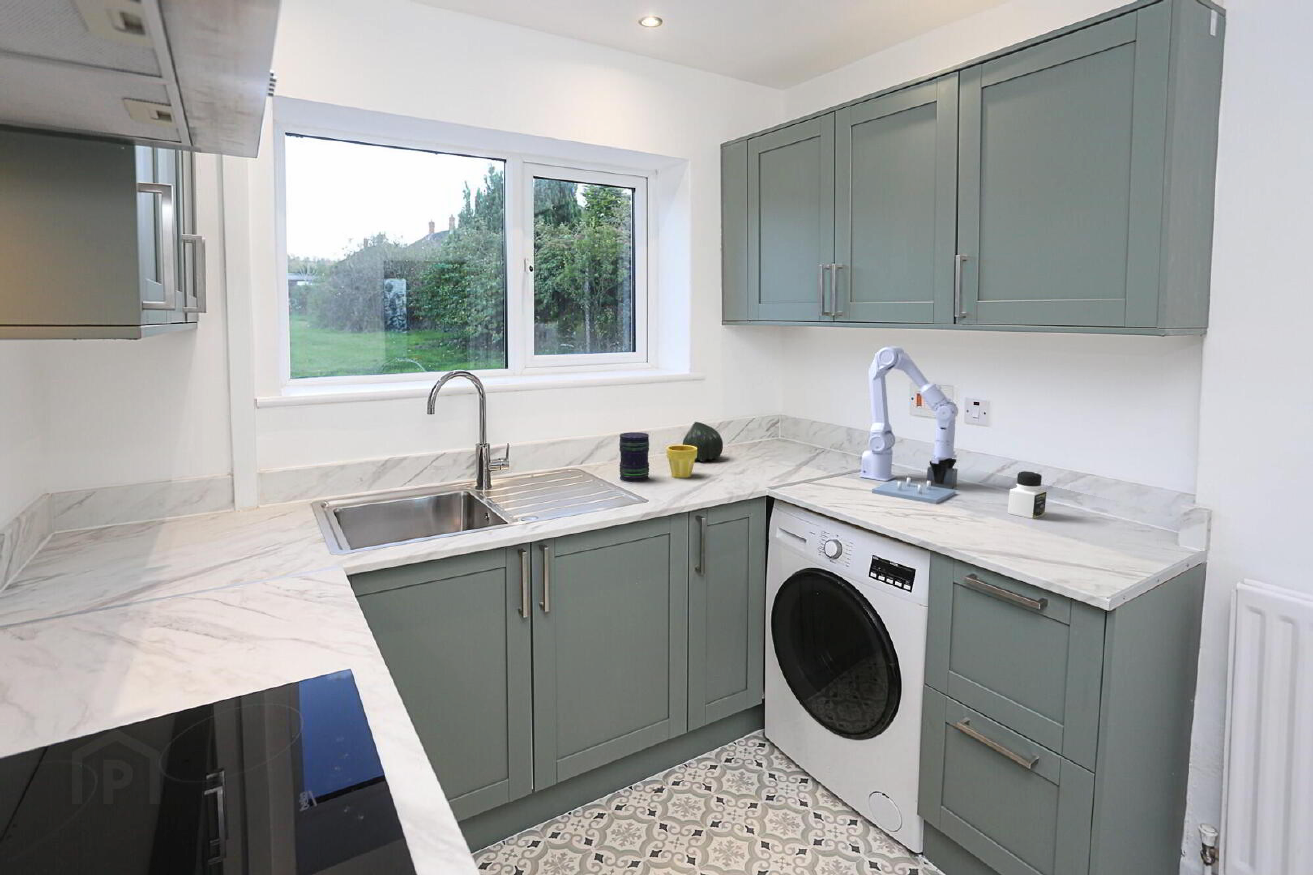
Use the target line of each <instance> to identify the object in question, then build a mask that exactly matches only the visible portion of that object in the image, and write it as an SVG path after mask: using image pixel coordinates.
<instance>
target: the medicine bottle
mask: <svg viewBox="0 0 1313 875" xmlns="http://www.w3.org/2000/svg"><path fill="white" fill-rule="evenodd" d="M1042 479H1043V478H1042V474H1040V473H1039V472H1036V471H1029V470H1024V471H1020V472H1018V473H1017V477H1016V487H1014V488H1011V489H1009V495H1008V506H1007V507H1008V508H1007V514H1008V515H1013V516H1018V517H1023V518H1026V519H1032V520H1033V519H1037V518H1040V517H1042V516H1044V515H1045V513H1046V503H1047V502H1046V500H1047V489H1041V488H1042Z"/></svg>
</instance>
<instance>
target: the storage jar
mask: <svg viewBox="0 0 1313 875" xmlns="http://www.w3.org/2000/svg"><path fill="white" fill-rule="evenodd" d="M649 437H650V435H649V433H646V432H622V433H620V434H619V452H620V462H619V476H620V477H619V480H620V481H622V482H625V483H627V482H628V483H643V482H647V481H648V480H649V478H650V477H649V472H650V462H649V451H650V442H649V441H650V438H649Z"/></svg>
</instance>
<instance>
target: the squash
mask: <svg viewBox="0 0 1313 875" xmlns="http://www.w3.org/2000/svg"><path fill="white" fill-rule="evenodd" d="M682 445H689V446H694V447H696V448H697V458H696V459H695V461H694V462H699V461H700V462H707V460H708V461H709V460H714V461H715V460H716V459H718V458H719V457H720V456H721V455H722V453H723V449H724V443H723V438H722V436H721V434H720V433H719V432H718V431H717V430H716V429H715V428H713V427H712V426H709V425H707V424H705V423H703V422H699V421H694V422H693V424H692V425H691V427H690V429H689V430H688V431H687V433H686V434H685V436H684V438H683V440H682Z"/></svg>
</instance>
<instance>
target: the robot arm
mask: <svg viewBox="0 0 1313 875" xmlns="http://www.w3.org/2000/svg"><path fill="white" fill-rule="evenodd" d="M892 369H895V370H898V371H901V372H904V373H905V374H906V375H907V376H908V377H909V379H910V380H911V381H912V382H913V383H914V384H915V385H916V386H917V387H918V388H919V389H920V394H919V395H920V397H921V398H922V399H923V400H924V401H925V403H926V404H927V405H928V406H929V407H930V409H931V410H932V411H934V416H935V419H936V426H935V436H934V450H933V456H931V460H929V467H930V466H931V468H932V470H933V474H934V480H935V483H938V484H942V483H943V480H944V475H945V471H946V469H947V467H948V468H954V466H955V464H956V463H957V457H958V455H957V454H956V452H955V451H954V450H955V449H954V447H955V435H956V418H957V416H958V414H959V408H958V406H957V404H956V403H955V402H953V401H952V400H951V399H950V397H947V396H946V395H945V394H944V392H943V391H942V387H941V386H940V385H937V384H936V383H930V382H929V381H928V380H927V378H926V377H925V375H924V374H923V373H922V372H921V370H920V369H919V367H917V365H916V363H915V362H914V361H913V360H912V358H911V356H910V355H909V354H908V353H907V352H905V350H904V349H903V348H902V347H900V346H898V345H894V346H893V345H892V346H890V347H889V346H887V347H886V346H885V347H882V348H881V349H879V351H877V352H876V353H875V354H874V358H873V361H872V363H871V364H870V367H869V368H868V382H869V383H868V384H869V394H870V407H871V408H870V409H871V418H872V420H871V422H872V426H871V428H870V432H869V433H870V434H869V436H870V437H869V438H868V442H867V443H868V447H869V449H867V450H864V452H863V453H862V456H861V467H860V470H861V471H860V475H859V477H860V478H863V479H864V478H865V479H869V480H870V479H871V480H877V481H881V482H887V481H890V480H892V479H893V480H894V479H895V478H896V477H897V476H896V475H892V471H893V470H892V469H893V468H892V467H893V466H892V465H893V449H892V448H893V447H894V446H895V444H896V436H895V434H894V433H893V427H892V425H891V424H890V422H889V408H888V397H887V384H886V375H887V374H888V373H889V372H891V370H892Z"/></svg>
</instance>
